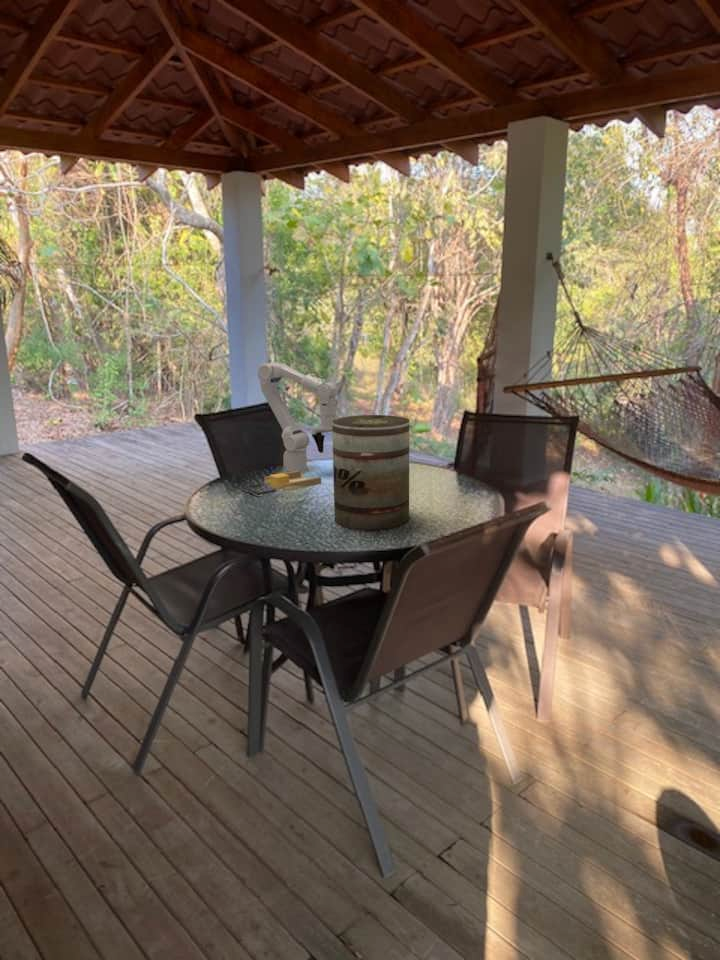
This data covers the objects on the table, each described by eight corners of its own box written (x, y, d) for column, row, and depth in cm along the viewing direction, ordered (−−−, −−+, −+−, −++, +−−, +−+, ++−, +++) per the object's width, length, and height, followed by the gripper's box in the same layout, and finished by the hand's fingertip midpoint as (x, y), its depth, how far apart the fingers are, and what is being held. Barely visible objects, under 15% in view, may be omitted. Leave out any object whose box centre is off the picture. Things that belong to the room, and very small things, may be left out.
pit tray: (242, 490, 235) (242, 487, 235) (259, 487, 239) (259, 483, 239) (258, 497, 227) (258, 493, 226) (275, 493, 231) (275, 489, 230)
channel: (264, 485, 242) (264, 477, 241) (299, 478, 251) (298, 470, 250) (285, 493, 231) (285, 484, 230) (321, 485, 240) (320, 477, 239)
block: (270, 485, 238) (269, 475, 237) (282, 483, 241) (281, 472, 240) (277, 488, 234) (276, 477, 233) (289, 486, 237) (288, 475, 236)
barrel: (332, 510, 211) (330, 416, 203) (402, 507, 213) (402, 414, 205) (337, 533, 189) (334, 428, 181) (415, 529, 191) (415, 426, 184)
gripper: (318, 418, 240) (319, 455, 244) (350, 414, 249) (350, 449, 252) (307, 416, 246) (308, 452, 249) (338, 412, 254) (339, 447, 258)
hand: (329, 450), depth 251 cm, fingers open, 7 cm apart
